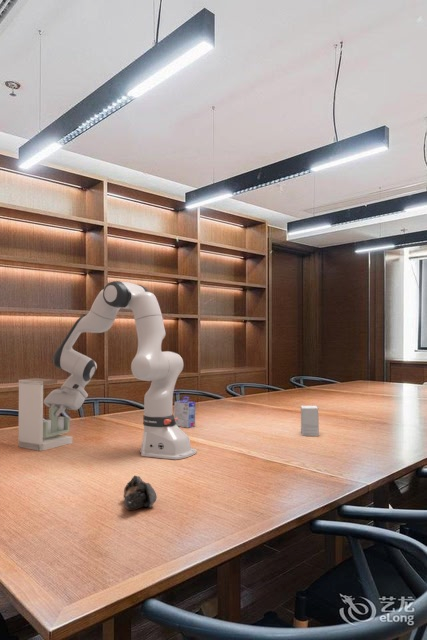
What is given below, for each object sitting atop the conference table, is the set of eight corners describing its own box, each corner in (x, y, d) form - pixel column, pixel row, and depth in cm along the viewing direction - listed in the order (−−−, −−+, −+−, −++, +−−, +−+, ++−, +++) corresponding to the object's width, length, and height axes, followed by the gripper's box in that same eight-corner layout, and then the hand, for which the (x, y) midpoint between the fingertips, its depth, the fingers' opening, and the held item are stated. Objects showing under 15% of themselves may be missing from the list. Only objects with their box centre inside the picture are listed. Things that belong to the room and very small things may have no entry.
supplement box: (317, 432, 213) (316, 405, 214) (319, 436, 206) (318, 408, 206) (300, 432, 214) (300, 405, 214) (302, 436, 207) (301, 407, 207)
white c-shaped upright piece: (72, 442, 196) (72, 378, 197) (40, 451, 183) (40, 381, 183) (50, 439, 204) (51, 376, 204) (18, 446, 190) (18, 379, 191)
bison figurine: (136, 496, 132) (104, 503, 125) (137, 471, 132) (106, 477, 126) (161, 509, 123) (128, 517, 116) (162, 482, 124) (129, 489, 117)
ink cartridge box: (196, 426, 230) (195, 397, 230) (188, 428, 225) (188, 398, 226) (181, 424, 236) (180, 395, 236) (173, 425, 231) (173, 396, 232)
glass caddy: (69, 432, 200) (69, 406, 200) (46, 437, 190) (46, 410, 190) (60, 430, 203) (60, 404, 203) (36, 435, 193) (36, 408, 193)
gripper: (51, 383, 209) (33, 408, 200) (83, 386, 198) (64, 412, 189) (60, 392, 212) (41, 417, 204) (91, 395, 201) (73, 421, 193)
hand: (53, 415), depth 197 cm, fingers closed on glass caddy
